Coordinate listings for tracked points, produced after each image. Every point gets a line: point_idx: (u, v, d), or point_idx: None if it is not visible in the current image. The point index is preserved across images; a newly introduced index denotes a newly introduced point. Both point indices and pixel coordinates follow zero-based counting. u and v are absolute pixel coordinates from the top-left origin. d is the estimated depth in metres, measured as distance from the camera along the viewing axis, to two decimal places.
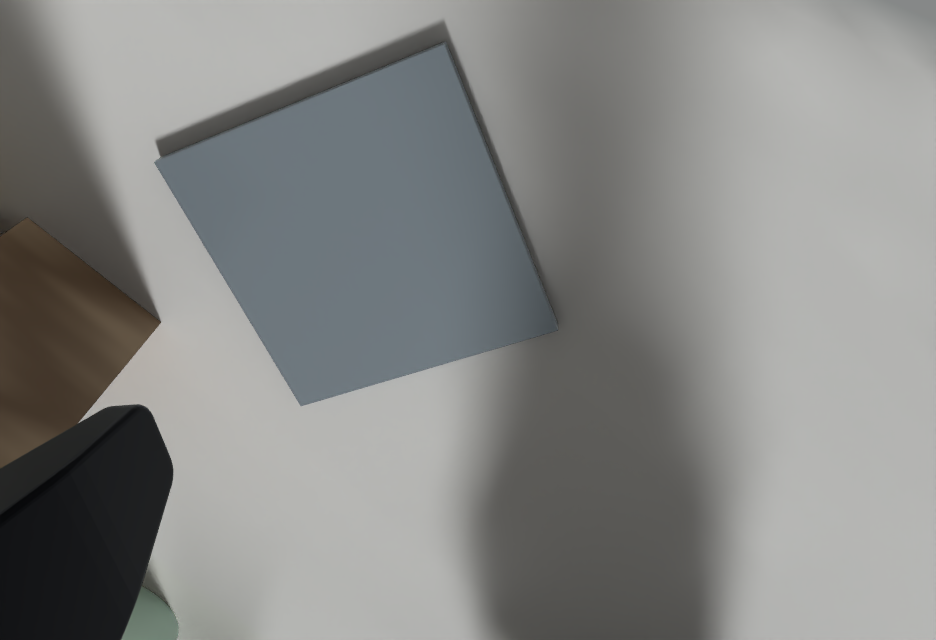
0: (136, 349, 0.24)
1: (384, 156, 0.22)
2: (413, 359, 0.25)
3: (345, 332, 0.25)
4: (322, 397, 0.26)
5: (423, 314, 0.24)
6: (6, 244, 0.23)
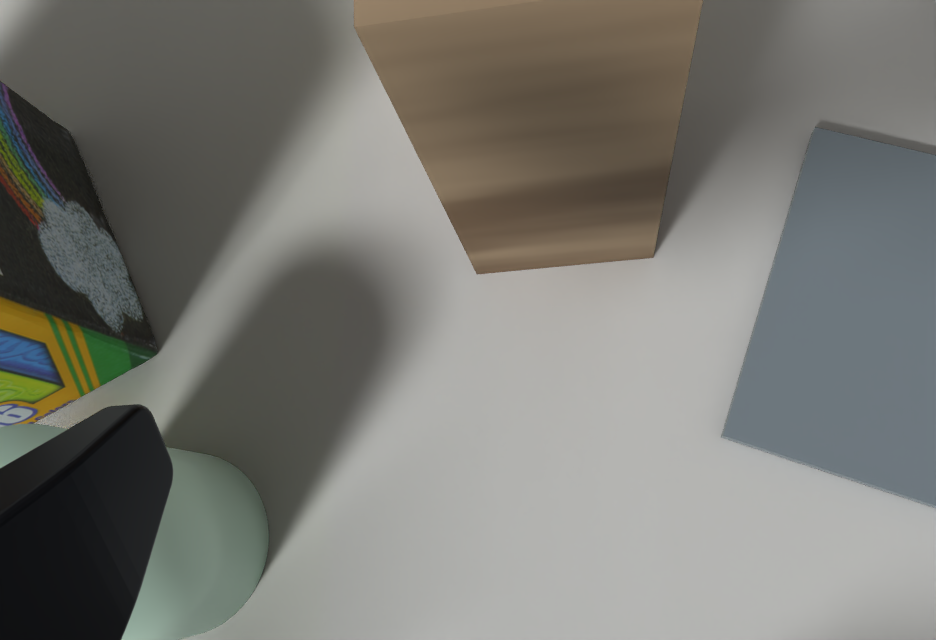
0: None
1: None
2: (906, 475, 0.20)
3: (853, 392, 0.20)
4: (757, 443, 0.20)
5: None
6: None
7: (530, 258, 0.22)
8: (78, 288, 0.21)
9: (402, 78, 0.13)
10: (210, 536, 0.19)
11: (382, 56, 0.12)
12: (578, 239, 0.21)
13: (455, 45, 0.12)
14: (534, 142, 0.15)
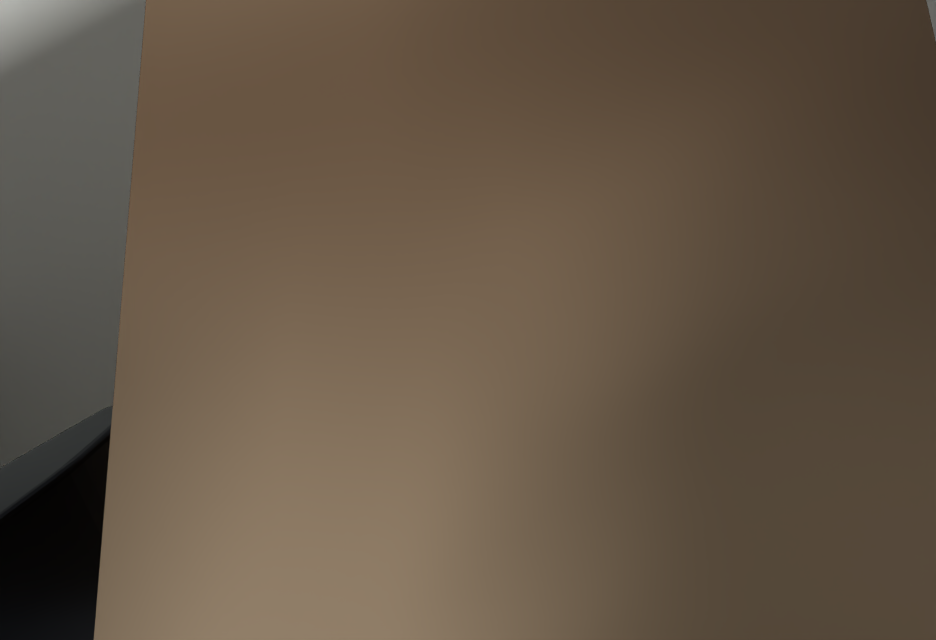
0: None
1: None
2: None
3: None
4: None
5: None
6: None
7: None
8: None
9: None
10: None
11: None
12: None
13: None
14: None
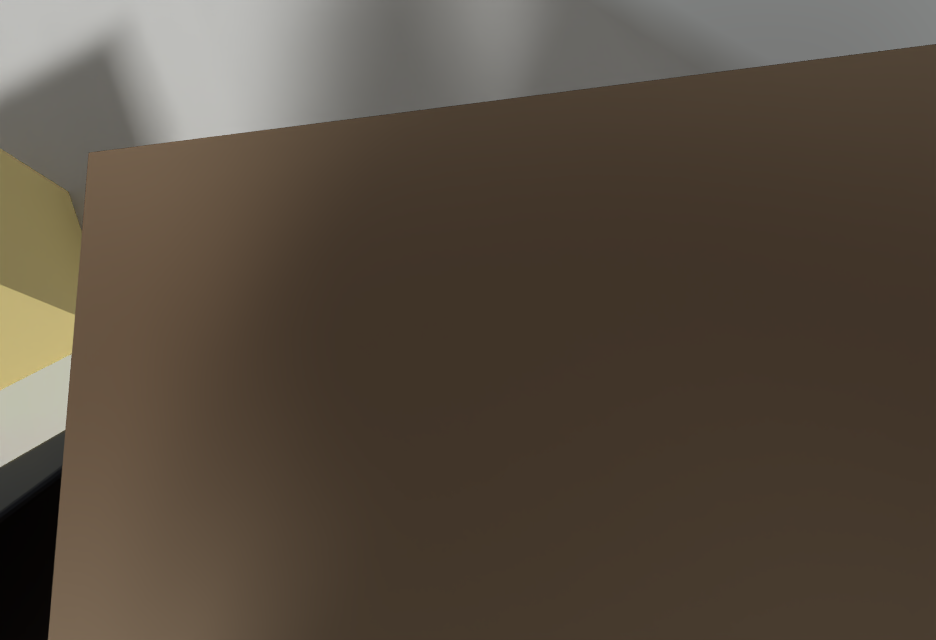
0: None
1: None
2: None
3: None
4: None
5: None
6: None
7: None
8: None
9: None
10: None
11: None
12: None
13: None
14: None
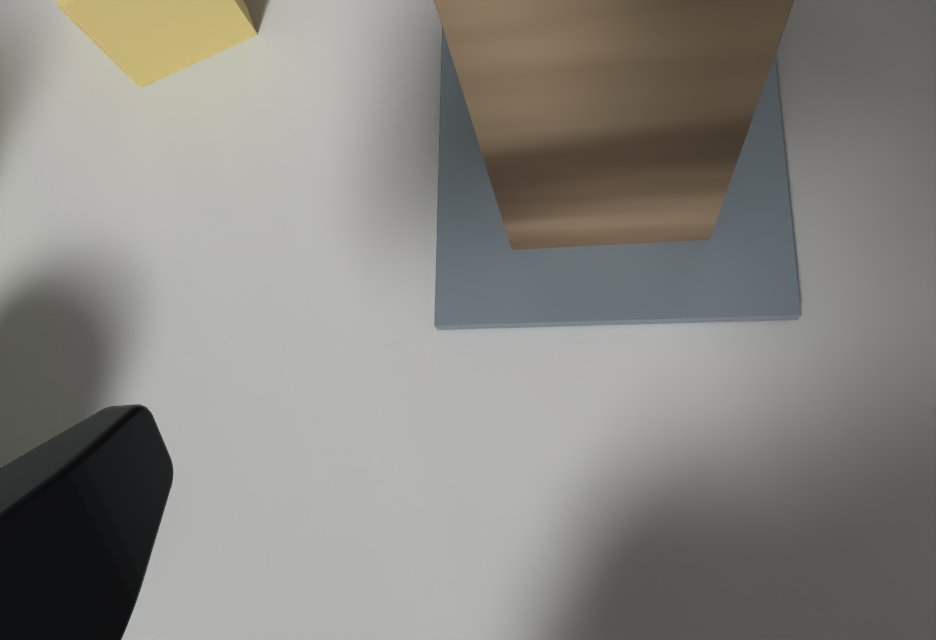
0: (718, 210, 0.18)
1: None
2: (605, 302, 0.20)
3: None
4: (467, 321, 0.21)
5: (641, 247, 0.20)
6: None
7: (572, 233, 0.20)
8: None
9: None
10: None
11: None
12: (630, 211, 0.18)
13: None
14: (598, 77, 0.13)
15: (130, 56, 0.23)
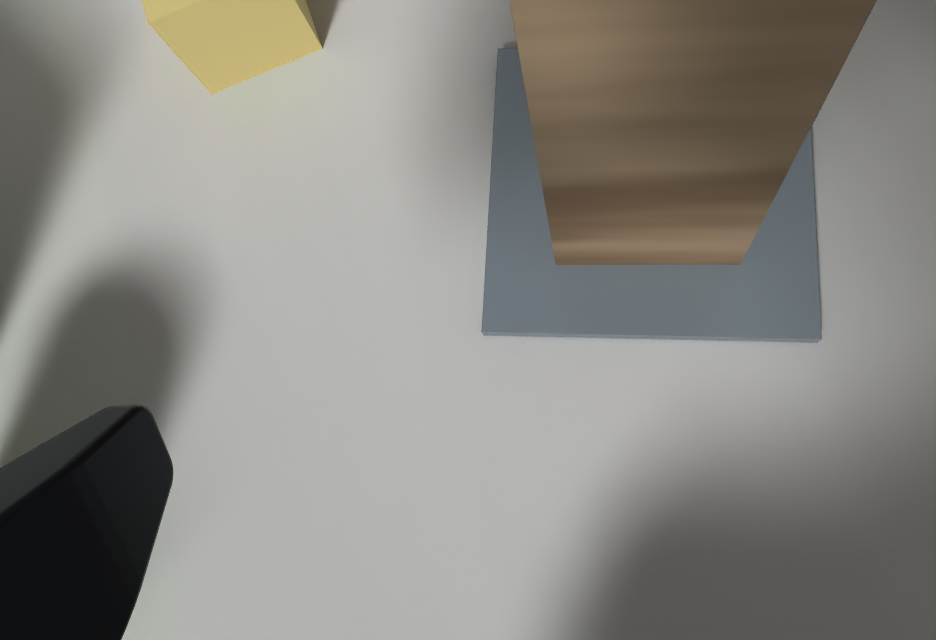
0: (751, 241, 0.20)
1: None
2: (640, 318, 0.22)
3: None
4: (512, 329, 0.22)
5: (676, 269, 0.22)
6: None
7: (614, 254, 0.21)
8: None
9: (541, 50, 0.13)
10: None
11: (527, 25, 0.12)
12: (670, 237, 0.20)
13: (606, 20, 0.12)
14: (655, 131, 0.15)
15: (206, 66, 0.25)
